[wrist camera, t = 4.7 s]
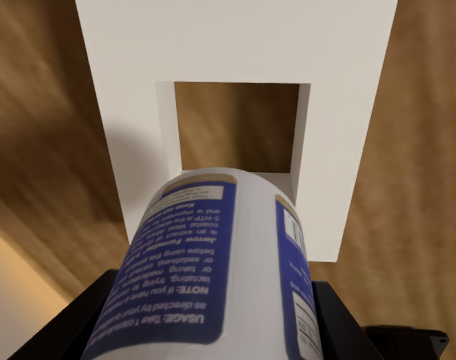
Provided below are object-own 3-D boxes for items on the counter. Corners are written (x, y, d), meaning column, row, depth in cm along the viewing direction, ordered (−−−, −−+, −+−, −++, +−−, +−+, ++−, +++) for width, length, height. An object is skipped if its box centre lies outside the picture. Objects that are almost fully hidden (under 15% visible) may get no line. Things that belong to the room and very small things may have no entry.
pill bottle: (132, 255, 13) (-43, 668, 5) (168, 137, 10) (-95, 660, 3) (264, 296, 14) (269, 714, 6) (332, 197, 11) (496, 748, 3)
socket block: (333, 222, 23) (376, 374, 14) (139, 214, 24) (76, 353, 15) (429, -231, 12) (825, -657, 4) (59, -216, 13) (-313, -531, 4)
